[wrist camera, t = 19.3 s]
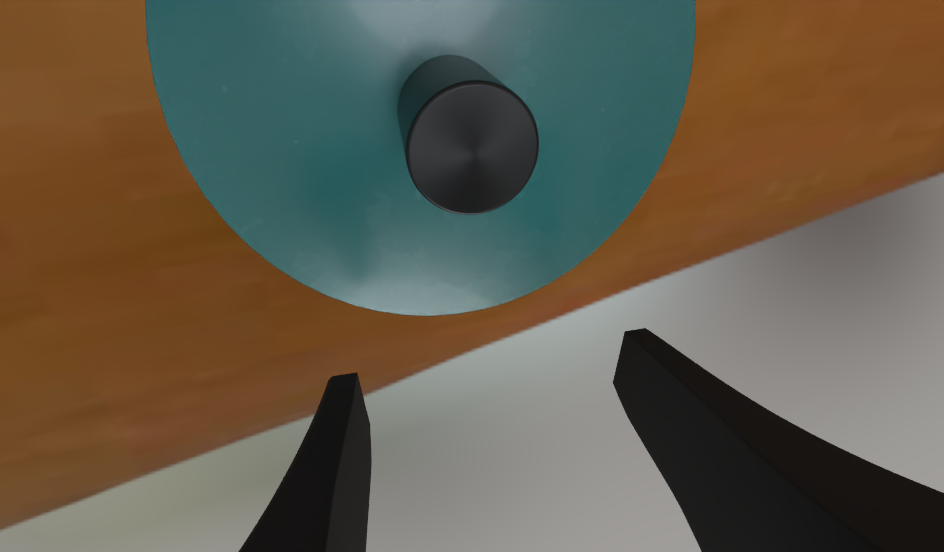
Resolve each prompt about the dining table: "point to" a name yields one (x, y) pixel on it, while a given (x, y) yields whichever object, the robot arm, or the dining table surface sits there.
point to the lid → (422, 134)
